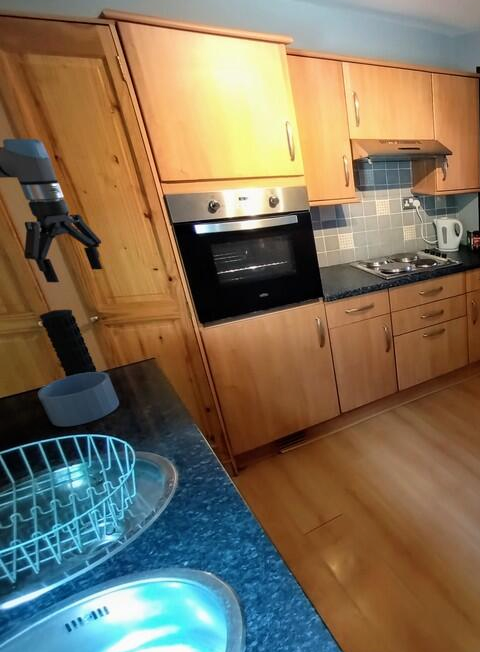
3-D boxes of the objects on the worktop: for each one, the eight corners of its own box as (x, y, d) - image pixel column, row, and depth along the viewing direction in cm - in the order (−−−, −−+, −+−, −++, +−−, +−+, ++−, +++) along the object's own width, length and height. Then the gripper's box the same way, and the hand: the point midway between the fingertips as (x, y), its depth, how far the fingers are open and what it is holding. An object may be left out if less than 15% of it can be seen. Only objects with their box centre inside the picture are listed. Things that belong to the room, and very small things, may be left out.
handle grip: (115, 388, 140) (104, 379, 145) (82, 308, 129) (72, 302, 134) (72, 402, 132) (63, 392, 138) (35, 319, 122) (26, 311, 127)
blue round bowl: (36, 423, 123) (22, 395, 119) (90, 396, 136) (79, 369, 132) (82, 429, 120) (68, 400, 117) (132, 400, 134) (121, 373, 130)
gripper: (10, 206, 112) (45, 288, 120) (100, 195, 134) (124, 264, 143) (-19, 206, 112) (19, 287, 121) (76, 194, 135) (102, 264, 143)
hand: (76, 275), depth 132 cm, fingers open, 13 cm apart
